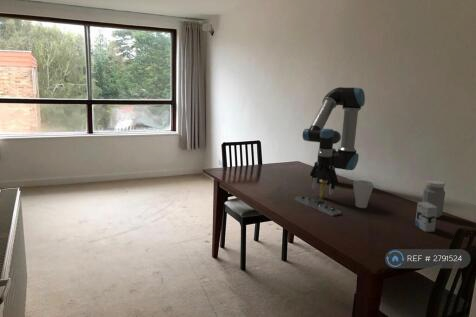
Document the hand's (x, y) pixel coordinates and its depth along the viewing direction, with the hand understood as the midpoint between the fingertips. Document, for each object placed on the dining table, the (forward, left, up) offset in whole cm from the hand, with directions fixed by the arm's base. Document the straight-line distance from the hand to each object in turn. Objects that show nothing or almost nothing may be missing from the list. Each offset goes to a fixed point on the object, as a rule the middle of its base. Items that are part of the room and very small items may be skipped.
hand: (322, 191), depth 210 cm
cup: (-9, +21, -5) cm, 23 cm away
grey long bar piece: (+14, +10, -4) cm, 17 cm away
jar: (-31, +48, -5) cm, 57 cm away
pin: (0, 0, -4) cm, 4 cm away
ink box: (-10, +57, -5) cm, 58 cm away
